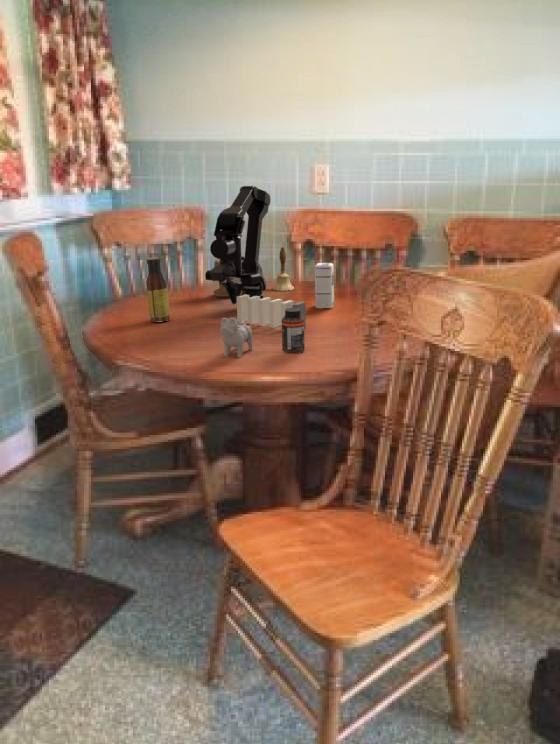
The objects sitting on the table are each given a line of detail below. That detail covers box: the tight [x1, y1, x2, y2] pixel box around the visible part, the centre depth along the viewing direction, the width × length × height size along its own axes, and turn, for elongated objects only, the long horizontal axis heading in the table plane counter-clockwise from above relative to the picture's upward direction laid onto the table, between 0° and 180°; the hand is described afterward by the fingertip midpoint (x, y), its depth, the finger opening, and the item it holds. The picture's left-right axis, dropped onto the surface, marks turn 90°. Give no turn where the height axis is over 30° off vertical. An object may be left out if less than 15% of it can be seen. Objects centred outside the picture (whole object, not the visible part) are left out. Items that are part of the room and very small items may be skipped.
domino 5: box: [280, 299, 295, 330], centre depth 197 cm, size 2×4×8 cm, turn 144°
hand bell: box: [272, 246, 295, 292], centre depth 252 cm, size 8×8×16 cm
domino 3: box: [258, 296, 272, 327], centre depth 201 cm, size 2×4×8 cm, turn 144°
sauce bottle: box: [145, 257, 171, 322], centre depth 206 cm, size 7×6×20 cm
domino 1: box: [236, 294, 250, 323], centre depth 206 cm, size 2×4×8 cm, turn 144°
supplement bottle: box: [281, 308, 305, 354], centre depth 173 cm, size 6×6×11 cm
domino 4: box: [269, 298, 283, 329], centre depth 199 cm, size 2×4×8 cm, turn 144°
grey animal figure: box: [219, 317, 253, 358], centre depth 171 cm, size 5×13×11 cm, turn 158°
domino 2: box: [247, 296, 260, 325], centre depth 204 cm, size 2×4×8 cm, turn 144°
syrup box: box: [314, 262, 335, 309], centre depth 222 cm, size 6×6×14 cm
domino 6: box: [292, 301, 307, 330], centre depth 194 cm, size 2×4×8 cm, turn 144°
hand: (234, 303), depth 208 cm, fingers closed
